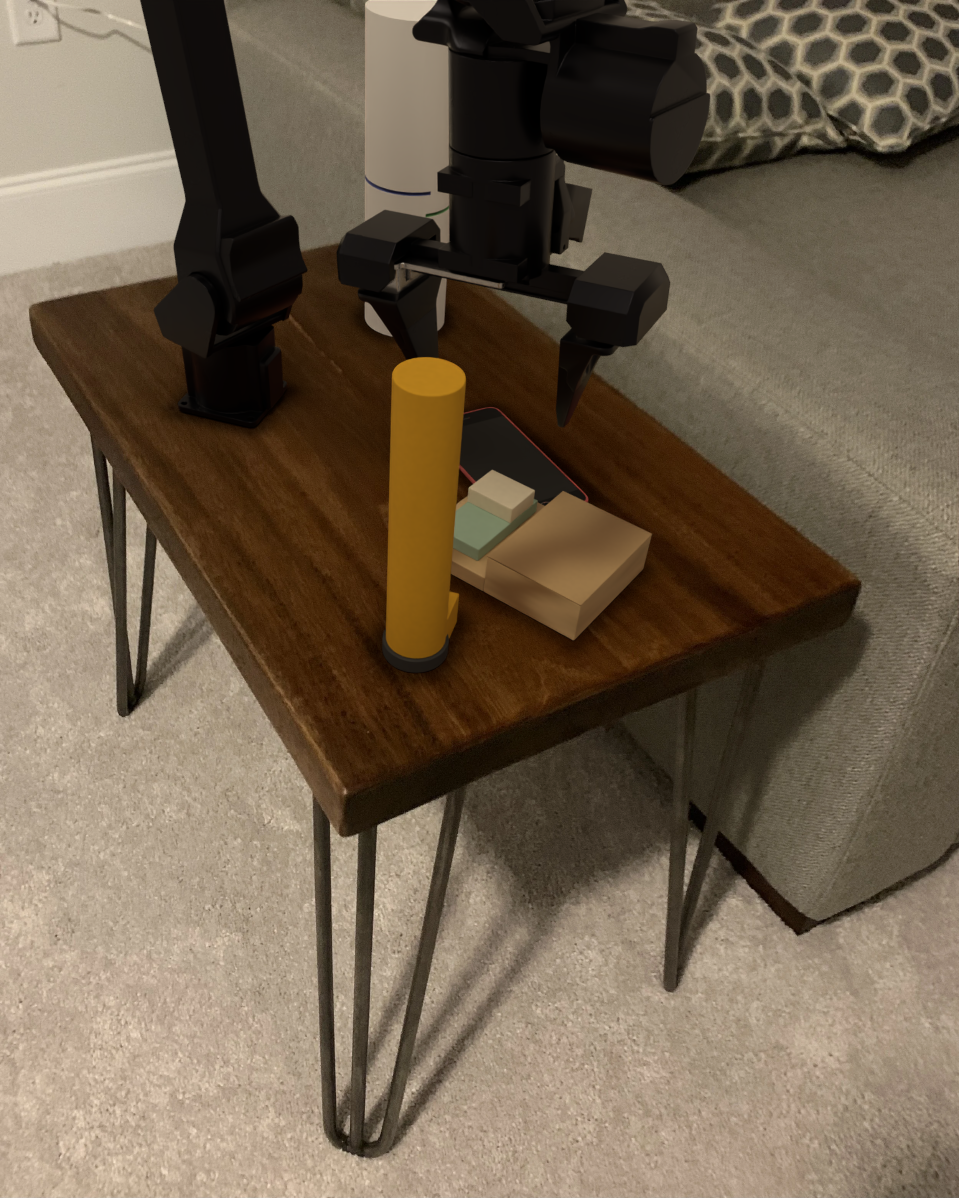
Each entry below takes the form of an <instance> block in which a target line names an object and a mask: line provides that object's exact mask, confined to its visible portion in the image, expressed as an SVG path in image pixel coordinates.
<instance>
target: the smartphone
mask: <svg viewBox="0 0 959 1198" xmlns="http://www.w3.org/2000/svg"><path fill="white" fill-rule="evenodd" d="M491 470H494V471H496V472H498V473H500V474H502V475H504V476H506V477H508V478H510V479H512V480H514V481H516V482H519V483H521V484H523V485H525V486H527V487H529V488H531V489H533V490H535V494H534V499H536V500H537V501H538V503H540V504H542V505H544V506H546V505H547V504H548V503H550V502H551V501H552V500H553V499H554V498H555V497H557V496H558V495H559V494H560V493H561V492H562V491H564V492H566V493H568V494H570V495H573V496H575V497H577V498H579V499H581V500H583V501H585V502H587V503H589V496H588V495H587V494H586V493H585V491H583V490H582V489H581V488H580V486H578V485H577V484H576V483H575V482H574V481H573V479H571V478H570V477H569V476H568V475H567V474H566V473H565V472H564V471H563V470H562V469H561V468H560V467H559V466H557V464H556V463H555V462H553V460H551V458H550V457H548V455H546V453H544V451H542V449H540V448H539V446H537V444H535V443H534V442H533V440H531V439H530V437H528V436H527V435H526V434H525V433H524V432H523V431H522V430H521V429H520V428H519V427H518V426H517V425H516V424H515V423H514V422H513V421H512V420H511V419H510V418H508V417H507V415H506V414H505V413H504V412H503V411H501V410H500V409H499V408H497V407H493V406H489V407H483V408H478V409H474V410H469V411H466V412H464V413H463V426H462V439H461V451H460V464H459V471H460V472H461V473H462V474H463V475H464V476H465V477H466V478H467V479H468V480H469V481H470V483H471V484H472V485H473V484H474V483H475V482H477V481H478V480H479V479H481V478H482V477H483V476H485V475H486V474H487V473H489V472H490V471H491Z"/></svg>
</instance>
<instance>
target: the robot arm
mask: <svg viewBox="0 0 959 1198" xmlns="http://www.w3.org/2000/svg"><path fill="white" fill-rule="evenodd" d="M139 2H140V6H141V11H142V15H143V19H144V23H145V29H146V32H147V37H148V41H149V46H150V50H151V54H152V59H153V61H154V62H153V63H154V67H155V72H156V76H157V81H158V84H159V88H160V89H159V90H160V92H161V97H162V102H163V107H164V110H165V116H166V118H167V123H168V129H169V132H170V136H171V140H172V145H173V149H174V154H175V159H176V162H177V166H178V172H179V176H180V180H181V185H182V189H183V193H184V205H183V208H182V211H181V215H180V219H179V223H178V227H177V230H176V234H175V237H174V240H173V255H174V262H175V271H176V278H177V284H176V285H175V286H174V287H173V288H172V289H171V290H170V291H169V292H168V293H167V294H166V295H165V296H164V297H163V298H162V299H161V300H160V302H158V303H157V304H156V305H155V306H154V308H153V314H154V316H155V319H156V322H157V325H158V326H159V330H160V333H161V336H162V337H163V338H165V339H166V340H168V341H170V342H172V343H174V344H176V345H177V346H180V348H181V354H182V361H183V369H184V376H185V383H186V385H185V386H186V391H187V392H186V393H185V395H183V397H182V398H181V399H180V400H179V401H178V402H177V409H178V410H179V411H180V412H184V413H188V414H192V415H197V416H200V417H204V418H209V419H214V420H217V421H222V422H227V423H231V424H235V425H240V426H244V427H247V428H254V427H256V426H258V425H259V423H260V422H261V420H263V418H264V417H265V416H266V415H267V413H269V411H270V410H271V409H272V408H273V407H274V406H275V405H276V404H277V402H278V401H279V400H280V399H281V398H282V396H283V395H285V394H284V393H285V392H286V391H287V389H288V382H287V381H286V380H284V374H283V357H282V356H283V355H282V350H281V348H280V347H279V346H276V335H275V326H274V325H275V324H278V323H280V322H284V321H287V320H288V319H289V318H290V315H291V312H292V308H293V305H294V304H295V302H296V301H297V299H298V298H299V296H300V295H301V294H303V288H304V281H303V278H304V277H303V275H304V274H306V273H308V266H307V265H306V263H305V260H304V257H303V254H302V249H301V244H300V229H299V228H300V227H299V224H298V222H297V220H296V218H295V216H293V215H292V214H287V215H286V214H285V215H281V213H279V211H278V210H277V209H276V208H275V207H274V205H273V204H272V203H271V201H270V200H269V199H268V198H267V197H266V195H265V194H264V193H263V191H262V189H261V186H260V183H259V179H258V173H257V167H256V162H255V157H254V151H253V146H252V141H251V135H250V130H249V124H248V120H247V113H246V109H245V103H244V99H243V98H244V97H243V92H242V87H241V82H240V77H239V72H238V67H237V62H236V61H237V60H236V56H235V49H234V45H233V39H232V35H231V29H230V25H229V18H228V14H227V13H228V12H227V8H226V2H225V0H139ZM627 13H628V5H627V3H626V0H437V2H436V3H435V5H434V6H433V7H432V8H431V10H430V11H428V12H427V13H426V14H425V15H424V16H423V17H422V18H421V19H420V20H419V21H418V22H417V23H416V24H415V25H414V26H413V28H412V34H413V37H414V38H415V39H416V40H418V41H423V42H428V43H434V44H439V45H444V46H448V99H449V165H448V166H447V167H445V168H443V169H442V170H440V171H438V172H437V192H442V193H447V194H449V242H448V243H443V242H441V238H440V228H439V227H438V225H437V224H436V222H435V221H434V220H433V219H431V218H426V217H421V216H415V215H410V214H405V213H400V212H395V211H390V210H383V211H381V212H380V213H378V214H376V215H375V216H373V217H372V218H370V219H368V220H367V221H365V220H364V221H363V222H361V223H360V224H358V225H356V226H355V227H353V228H352V229H350V230H349V231H346V232H345V233H344V235H343V236H342V237H341V239H340V241H339V244H338V246H337V249H336V252H335V255H336V265H337V266H336V267H337V279H338V281H339V283H340V285H344V286H349V287H352V288H357V298H358V300H359V301H360V302H364V303H365V302H367V303H369V304H370V305H371V306H372V307H373V309H374V310H375V312H376V313H377V315H378V316H379V318H380V319H381V320H382V322H383V323H384V325H385V326H386V328H387V329H388V331H389V332H390V334H391V335H392V336H393V337H392V336H391V337H392V338H393V340H394V342H395V343H396V344H397V346H398V348H399V350H400V351H401V353H402V355H403V357H404V358H405V361H406V360H409V359H413V358H420V357H432V358H439V359H440V355H439V334H438V333H439V330H438V331H437V308H436V301H437V296H438V292H439V288H440V284H441V280H442V278H445V279H447V280H450V281H455V282H459V283H464V284H468V285H473V286H477V287H483V288H488V289H491V290H492V289H493V290H497V291H501V292H506V293H511V294H516V295H520V296H524V297H530V298H533V299H534V298H535V299H539V300H543V301H548V302H553V303H556V304H562V305H566V314H565V322H566V323H567V324H568V326H569V327H570V329H569V330H568V331H567V332H566V333H565V334H563V336H562V337H560V339H559V351H558V366H557V367H558V368H557V382H556V383H557V384H556V398H555V399H556V400H555V414H556V423H557V427H559V428H562V429H563V428H565V427H566V426H567V425H568V424H569V422H570V421H571V419H572V417H573V414H574V412H575V410H576V408H577V406H578V404H579V402H580V400H581V397H582V395H583V393H584V391H585V389H586V387H587V385H588V382H589V380H590V379H591V376H592V374H593V372H594V369H595V368H596V365H597V364H598V362H599V360H600V359H601V357H609V356H613V354H615V352H616V351H617V350H618V349H619V348H627V347H628V348H629V347H635V346H637V345H638V344H639V343H640V342H641V341H642V340H643V339H644V337H645V336H646V335H647V334H648V332H649V331H650V330H651V329H652V328H653V327H654V326H655V324H656V323H657V322H658V321H659V320H660V318H661V317H662V316H663V315H664V314H665V312H666V311H667V310H668V305H669V304H668V303H669V296H670V288H671V279H670V277H669V274H668V273H667V271H666V269H665V266H664V265H663V263H662V262H659V261H658V262H657V261H654V260H647V259H643V258H638V257H632V256H627V255H622V254H616V253H612V252H606V251H604V252H603V253H602V254H601V255H600V256H599V257H598V258H596V259H595V260H594V261H593V262H592V263H591V264H590V265H589V266H588V267H587V268H586V269H584V270H582V269H578V268H572V267H567V266H562V265H557V264H553V263H551V256H552V255H553V254H555V255H559V256H560V255H562V254H563V253H564V252H565V251H567V250H568V249H569V246H570V241H572V242H576V243H583V242H584V241H583V240H584V235H585V230H586V226H587V221H588V220H587V219H588V214H589V210H590V205H591V200H592V195H593V194H592V193H593V191H594V190H593V188H590V187H586V186H584V185H583V186H582V185H578V184H574V183H569V182H566V164H565V163H569V164H573V165H577V166H581V167H586V168H590V169H594V170H599V171H603V172H607V173H612V174H615V175H620V176H623V177H628V178H632V179H636V180H641V181H645V182H648V183H649V182H650V183H654V184H657V185H662V186H671V185H674V184H675V183H676V182H678V180H679V179H681V177H683V176H684V175H685V173H686V171H687V170H688V169H689V167H690V166H691V164H692V162H693V160H694V158H695V156H696V154H697V152H698V150H699V147H700V145H701V142H702V139H703V136H704V133H705V129H706V126H707V120H708V116H709V111H710V105H711V93H709V92H708V79H707V73H706V67H705V64H704V62H703V59H702V57H700V56H699V54H698V53H696V45H697V37H698V26H697V24H696V22H693V21H687V20H682V19H681V20H679V19H666V20H658V21H656V20H647V19H640V18H634V17H628V16H626V15H627Z"/></svg>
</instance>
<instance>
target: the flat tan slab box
mask: <svg viewBox="0 0 959 1198" xmlns="http://www.w3.org/2000/svg"><path fill="white" fill-rule="evenodd" d="M467 502H468V495H467V496H465V497H464V498H463V499H461V500H460V501H458V502H457V503H456V510H458V509H459V508H460V507H462V506H463V505H464V504H465V503H467ZM652 536H653V533H652V532H649V531H648V530H645V529H643V528H641V527H639V526H637V525H635V524H633V523H630V522H629V521H627V520H624V519H622V518H621V517H619V516H616V515H614V514H612V513H610V512H608V511H606V510H604V509H602V508H599V507H597V506H595V505H594V504H591V503H589V502H588V503H587V502H585V501H583V500H581V499H579V498H577V497H575V496H573V495H570V494H568V493H566V492H564V491H562V492H561V493H560V494H559V495H558V496H557V497H555V498H554V499H553V500H552V501H551V502H550V503H548V504H547V505H546V506H544V505H542V504H540V503H538V502H537V509H536V512H535V513H534V514H533V515H531V516H530V517H529V518H528V519H527V520H526V521H524V522H523V523H522V524H521V525H520V526H518V527H517V528H516V529H515V530H514V531H513V532H511V533H510V534H509V535H508V536H507V537H505V538H504V539H503V540H502V541H501V542H500V543H498V544H497V545H496V546H495V547H494V548H492V549H491V550H490V551H489V552H488V553H487V554H485V555H484V556H483V557H482V558H481V559H479V560H478V561H477V560H475V559H473V558H471V557H469V556H467V555H465V554H463V553H462V552H460V551H458V550H456V549H454V548H453V552H452V565H451V576H454V577H456V578H458V579H460V580H461V581H463V582H465V583H467V584H469V585H470V586H473V587H474V588H476V589H477V590H480V591H481V592H483V593H485V594H487V595H489V596H491V597H493V598H495V599H496V600H498V601H500V602H501V603H504V604H506V606H509V607H510V608H512V609H515V610H517V611H518V612H520V613H522V614H524V615H526V616H527V617H529V618H530V619H533V620H535V621H537V622H538V623H540V624H542V625H544V626H545V627H547V628H549V629H551V630H553V631H555V632H557V633H559V634H561V635H562V636H564V637H566V638H567V639H570V640H572V641H575V640H576V639H577V638H578V637H579V636H580V635H581V634H582V633H584V631H585V630H586V629H587V628H588V627H589V626H590V625H591V623H593V621H594V620H596V619H597V618H598V616H599V615H600V614H601V613H602V612H603V611H604V610H605V609H606V608H607V607H608V606H609V605H610V604H611V603H612V602H613V601H614V600H615V599H616V598H617V597H618V596H619V595H620V594H621V593H622V592H623V591H624V589H626V588H627V586H629V584H630V583H631V582H633V580H634V579H635V578H636V577H638V575H639V574H640V573H641V572H642V571H643V570H644V568H645V563H646V559H647V555H648V551H649V548H650V543H651V540H652Z"/></svg>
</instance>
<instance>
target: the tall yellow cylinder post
mask: <svg viewBox="0 0 959 1198" xmlns="http://www.w3.org/2000/svg"><path fill="white" fill-rule="evenodd" d="M466 386H467V377H466V374H465V372H464V370H463V369H462V368H461V367H460V366H458V365H457V364H456V363H453V362H451V361H449V360H446V359H443V358H440V357H439V358H432V357H420V358H413V359H409V360H406V359H405V360H403V361H401V362H400V363H398V364H397V365H396V366H395V367H394V369H393V371H392V372H391V398H390V399H391V402H390V403H391V404H390V405H391V406H390V442H389V443H390V445H389V447H390V448H389V480H388V481H389V484H388V485H389V486H388V487H389V488H388V529H387V530H388V531H387V534H388V535H387V570H386V571H387V573H386V608H385V609H386V611H385V612H386V615H385V617H386V618H385V629H384V630H383V632H382V638H381V639H382V642H381V643H382V645H381V649H382V655H383V656H384V658H385V660H386V661H387V663H388V664H389V665H391V666H392V667H394V668H395V669H397V670H399V671H403V672H406V673H413V674H415V673H416V674H418V673H426V672H429V671H430V672H431V671H432V670H434V669H436V668H438V667H439V666H441V665H442V664H443V663H444V661H445V660H446V659H447V656H448V653H449V645H450V638H451V636H452V634H453V631H454V630H455V629H454V628H455V627H456V624H457V623H458V611H459V603H460V602H459V601H460V600H459V599H460V594H459V593H458V592H454V591H451V590H450V588H451V576H452V574H451V565H452V552H453V540H454V527H455V515H456V504H457V503H458V502H457V500H458V499H457V498H458V489H459V488H458V487H459V475H460V469H459V464H460V451H461V439H462V426H463V413H465V412H464V411H465V400H466V399H465V398H466V388H467V387H466Z"/></svg>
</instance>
